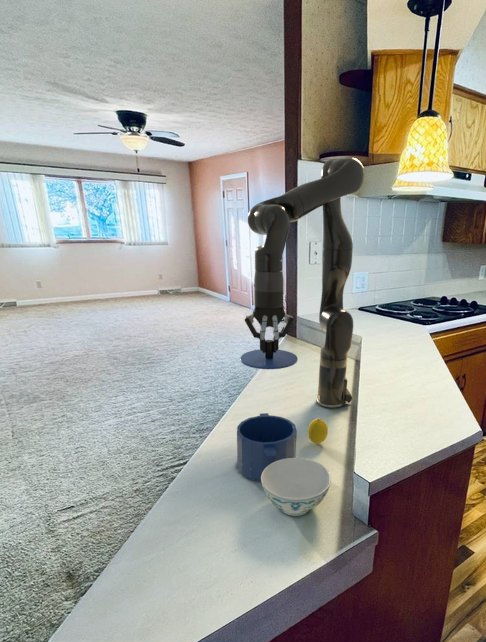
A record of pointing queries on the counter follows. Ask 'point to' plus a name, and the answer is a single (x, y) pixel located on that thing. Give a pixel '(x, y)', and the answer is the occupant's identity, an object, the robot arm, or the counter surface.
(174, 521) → the counter surface
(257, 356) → the lid
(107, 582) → the counter surface
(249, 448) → the pot
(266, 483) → the chinaware
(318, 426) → the lemon
